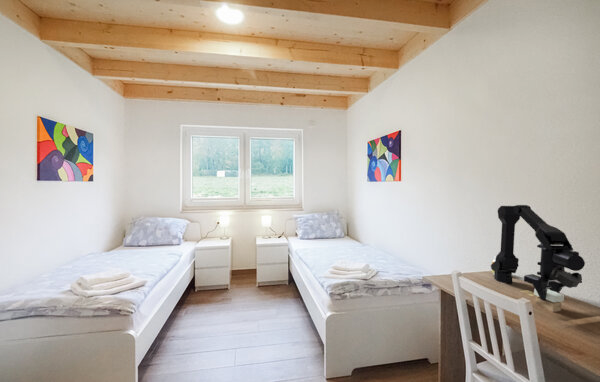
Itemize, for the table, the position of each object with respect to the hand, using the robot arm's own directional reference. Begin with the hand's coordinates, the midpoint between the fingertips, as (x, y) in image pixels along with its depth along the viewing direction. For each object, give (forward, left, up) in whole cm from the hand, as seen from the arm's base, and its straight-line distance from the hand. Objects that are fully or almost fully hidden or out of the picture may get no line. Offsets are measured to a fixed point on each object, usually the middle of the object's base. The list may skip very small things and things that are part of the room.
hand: (548, 299), depth 101 cm
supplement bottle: (-34, +16, -5) cm, 38 cm away
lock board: (-5, +4, -4) cm, 8 cm away
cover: (0, 0, +1) cm, 1 cm away
